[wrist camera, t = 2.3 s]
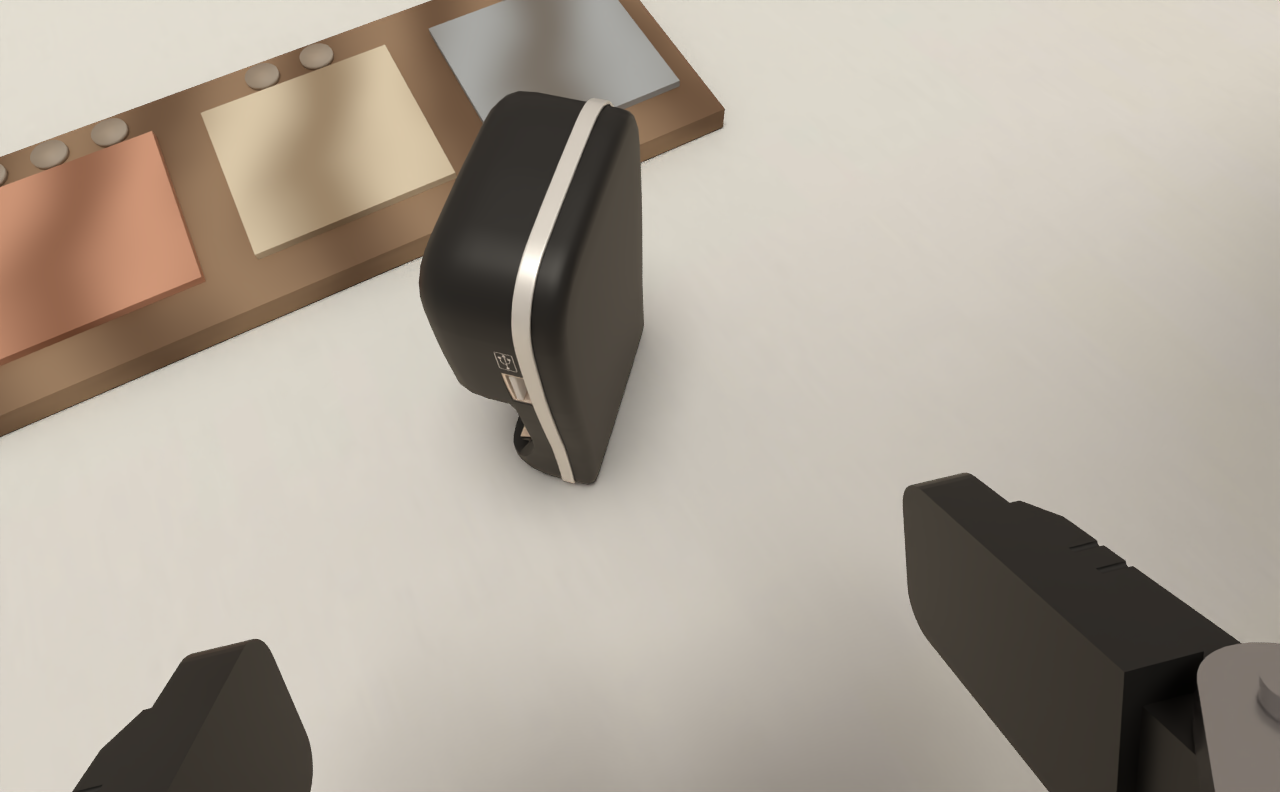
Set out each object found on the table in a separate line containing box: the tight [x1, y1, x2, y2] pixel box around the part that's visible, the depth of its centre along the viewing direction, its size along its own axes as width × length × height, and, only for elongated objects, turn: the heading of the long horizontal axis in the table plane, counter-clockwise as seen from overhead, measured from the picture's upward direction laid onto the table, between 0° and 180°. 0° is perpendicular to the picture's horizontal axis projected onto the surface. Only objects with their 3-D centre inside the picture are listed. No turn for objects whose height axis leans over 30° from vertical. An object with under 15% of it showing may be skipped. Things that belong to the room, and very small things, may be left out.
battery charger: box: [419, 91, 644, 484], centre depth 22 cm, size 7×4×11 cm, turn 165°
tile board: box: [0, 0, 725, 436], centre depth 31 cm, size 30×12×1 cm, turn 118°
